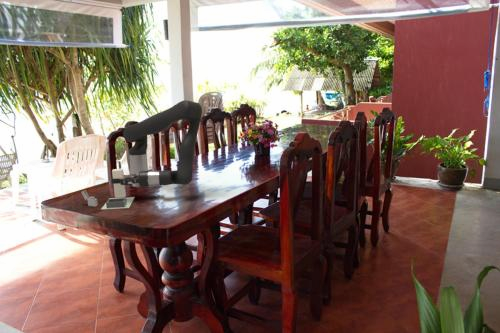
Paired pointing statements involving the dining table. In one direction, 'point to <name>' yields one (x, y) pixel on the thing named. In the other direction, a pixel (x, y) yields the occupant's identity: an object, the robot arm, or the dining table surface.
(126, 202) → the board
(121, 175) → the cream rectangular pillar
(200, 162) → the dining table surface
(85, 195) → the lighter
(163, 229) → the dining table surface
